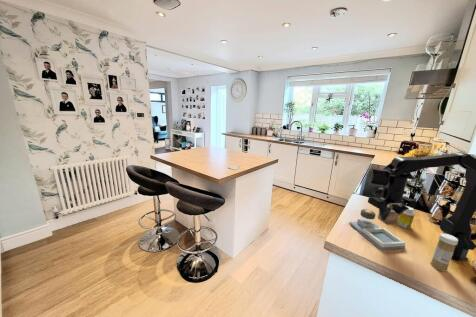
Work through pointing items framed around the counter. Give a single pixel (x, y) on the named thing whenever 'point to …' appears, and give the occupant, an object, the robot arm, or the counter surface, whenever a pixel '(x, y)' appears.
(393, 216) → the brown block
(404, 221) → the supplement bottle
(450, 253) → the sprinkles bottle
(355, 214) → the counter surface
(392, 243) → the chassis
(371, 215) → the wheel
